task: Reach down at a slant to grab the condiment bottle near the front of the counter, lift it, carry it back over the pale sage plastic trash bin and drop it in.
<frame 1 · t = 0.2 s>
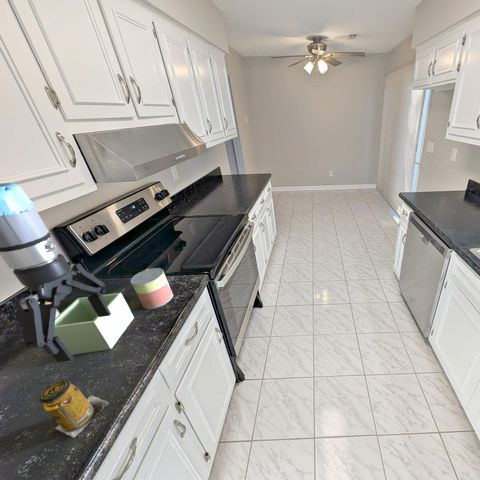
hand: (87, 335, 61), 21 cm above the worktop, tool pointing down, fingers open, 13 cm apart
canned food: (158, 299, 106), on the worktop
sprinkles bottle: (57, 324, 96), on the worktop
trash bin: (101, 335, 89), on the worktop
condiment: (84, 415, 65), on the worktop
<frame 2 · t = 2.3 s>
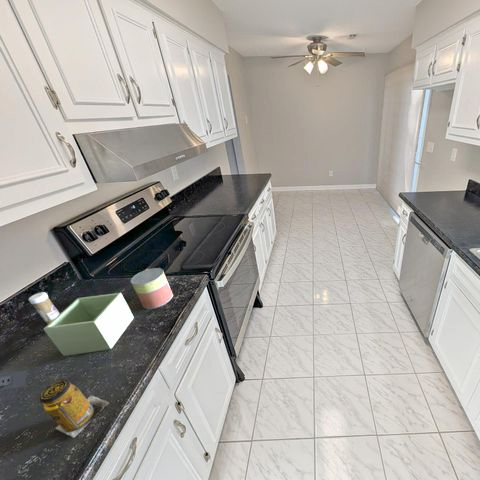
nothing on the worktop moved.
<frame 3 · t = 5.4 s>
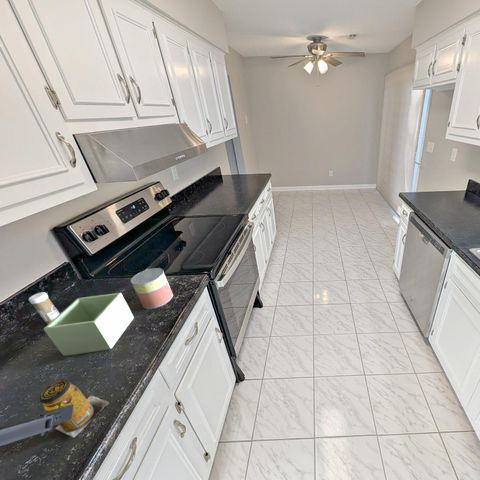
hand: (36, 417, 54), 11 cm above the worktop, tool tilted 45°, fingers open, 13 cm apart
nothing on the worktop moved.
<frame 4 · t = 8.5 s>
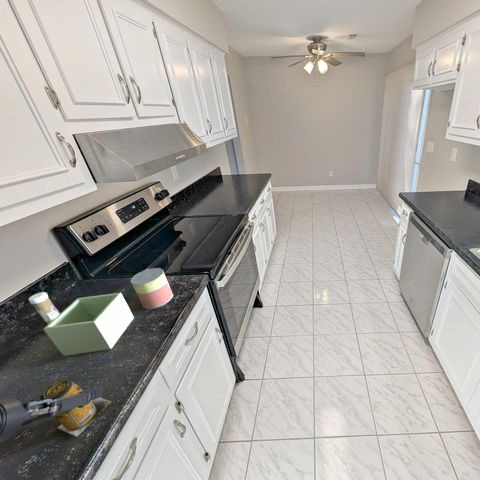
hand: (87, 393, 66), 3 cm above the worktop, tool tilted 45°, fingers closed on condiment, 6 cm apart
condiment: (86, 415, 65), on the worktop, touching gripper
everything else where it was.
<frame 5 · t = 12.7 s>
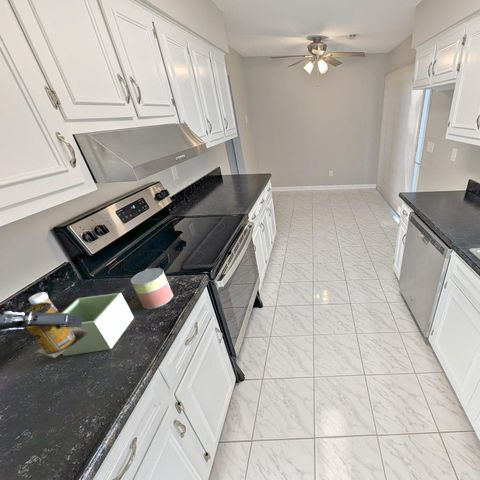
hand: (66, 322, 68), 19 cm above the worktop, tool tilted 45°, fingers closed on condiment, 6 cm apart
condiment: (65, 342, 66), point 16 cm above the worktop, touching gripper
everything else where it was.
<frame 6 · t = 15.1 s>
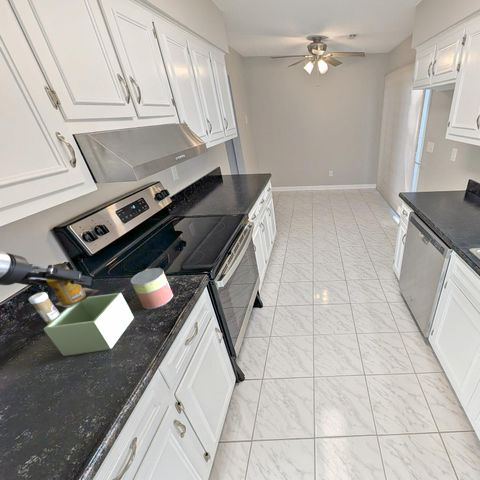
hand: (78, 282, 82), 21 cm above the worktop, tool tilted 45°, fingers closed on condiment, 6 cm apart
condiment: (78, 298, 80), point 18 cm above the worktop, touching gripper
everything else where it was.
when the fingers open (17 cm above the worktop, at t = 16.9 s): condiment drops 13 cm, resting on trash bin.
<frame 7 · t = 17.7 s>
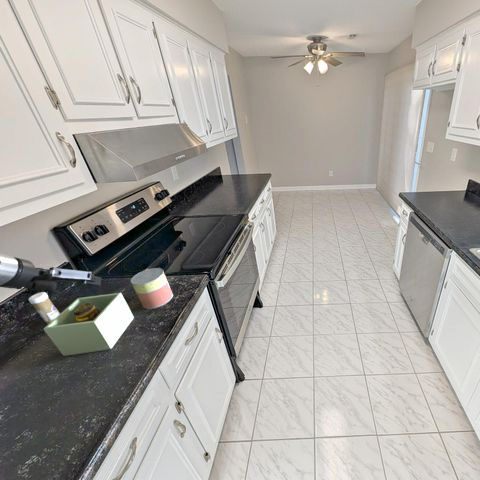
hand: (77, 284, 82), 20 cm above the worktop, tool tilted 45°, fingers open, 13 cm apart
condiment: (102, 332, 90), point 1 cm above the worktop, touching trash bin
everything else where it was.
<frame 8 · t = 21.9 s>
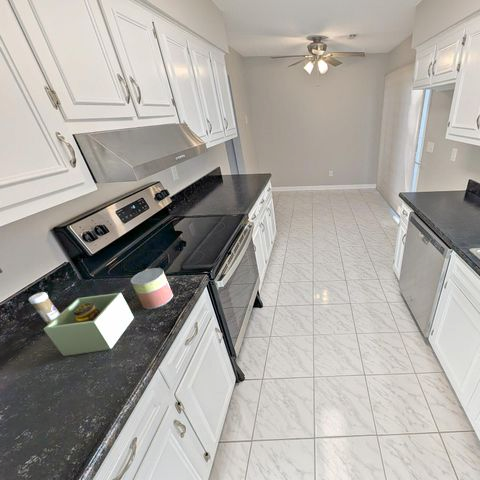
nothing on the worktop moved.
at the end: condiment inside the target area in the trash bin (0.7 cm from its centre), point 0.8 cm above the trash bin's base; the gripper is holding nothing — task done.
